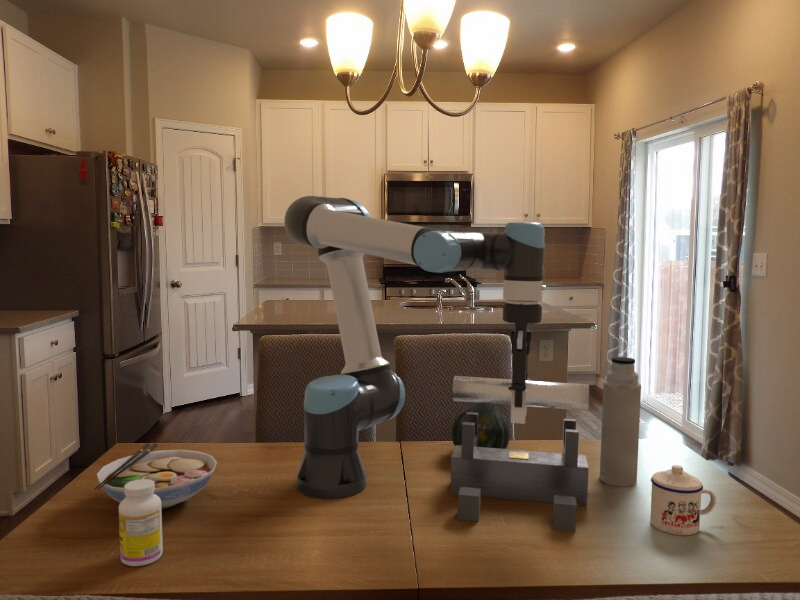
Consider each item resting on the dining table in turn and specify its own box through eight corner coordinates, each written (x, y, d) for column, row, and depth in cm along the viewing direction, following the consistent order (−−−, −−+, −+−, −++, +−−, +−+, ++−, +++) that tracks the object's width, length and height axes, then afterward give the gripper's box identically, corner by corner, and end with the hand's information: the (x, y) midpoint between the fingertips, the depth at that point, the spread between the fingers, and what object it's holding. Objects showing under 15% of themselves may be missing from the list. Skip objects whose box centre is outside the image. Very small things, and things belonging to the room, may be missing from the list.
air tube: (452, 404, 128) (452, 378, 127) (456, 397, 133) (456, 373, 132) (588, 414, 122) (589, 387, 121) (587, 406, 126) (588, 381, 126)
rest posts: (457, 519, 124) (458, 494, 123) (460, 511, 128) (460, 486, 127) (575, 531, 119) (576, 505, 119) (574, 522, 123) (575, 497, 123)
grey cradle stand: (449, 495, 136) (451, 423, 134) (455, 478, 145) (456, 411, 144) (587, 507, 130) (590, 433, 129) (583, 489, 140) (586, 419, 138)
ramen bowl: (191, 532, 117) (190, 489, 116) (69, 528, 118) (68, 485, 118) (234, 481, 142) (233, 445, 141) (133, 478, 143) (132, 442, 143)
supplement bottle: (128, 549, 111) (125, 476, 110) (167, 548, 111) (165, 476, 110) (114, 568, 104) (111, 492, 103) (156, 567, 105) (154, 491, 104)
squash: (433, 436, 158) (473, 396, 154) (452, 423, 172) (489, 385, 167) (473, 481, 155) (516, 440, 150) (489, 464, 168) (529, 426, 164)
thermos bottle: (596, 473, 150) (601, 354, 147) (631, 474, 149) (637, 355, 146) (603, 485, 142) (608, 360, 139) (640, 487, 141) (646, 361, 139)
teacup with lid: (659, 536, 118) (662, 474, 117) (641, 515, 127) (644, 458, 126) (725, 537, 118) (729, 475, 117) (702, 516, 127) (706, 458, 126)
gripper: (541, 307, 115) (536, 433, 118) (543, 298, 133) (539, 408, 135) (499, 305, 117) (495, 430, 119) (506, 297, 135) (503, 406, 137)
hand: (518, 418), depth 127 cm, fingers closed on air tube, 5 cm apart
